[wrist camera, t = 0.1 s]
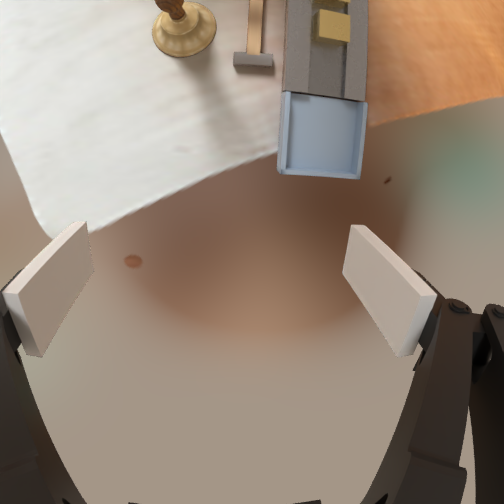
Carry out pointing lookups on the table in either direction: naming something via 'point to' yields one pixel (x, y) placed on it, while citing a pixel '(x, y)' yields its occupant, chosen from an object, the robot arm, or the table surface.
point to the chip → (331, 27)
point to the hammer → (254, 40)
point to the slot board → (325, 53)
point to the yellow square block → (333, 3)
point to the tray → (321, 136)
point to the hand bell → (183, 27)
